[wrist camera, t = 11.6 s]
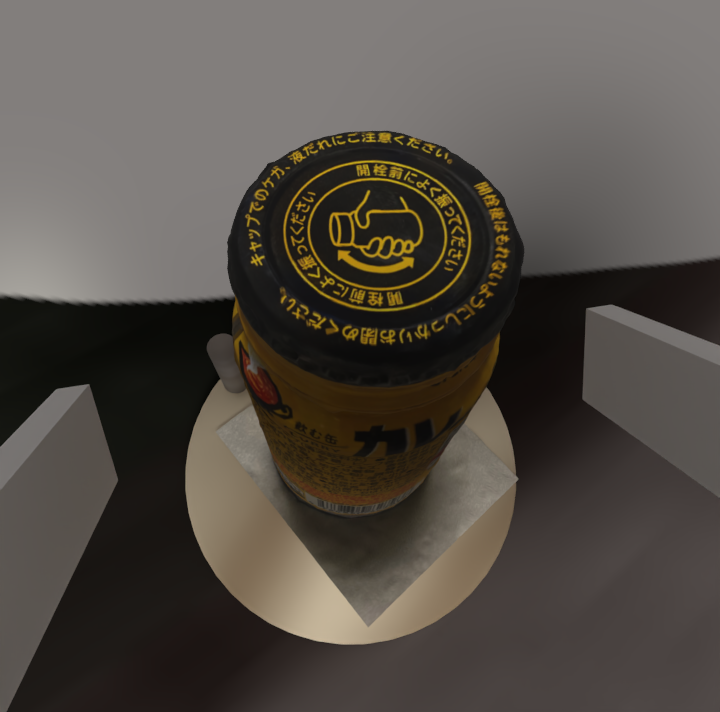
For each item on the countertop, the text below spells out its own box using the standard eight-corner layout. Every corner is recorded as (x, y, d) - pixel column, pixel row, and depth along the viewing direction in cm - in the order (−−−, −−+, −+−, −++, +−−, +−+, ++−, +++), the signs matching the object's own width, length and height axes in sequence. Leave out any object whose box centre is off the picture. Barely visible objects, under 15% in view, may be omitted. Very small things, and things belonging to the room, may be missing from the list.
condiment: (364, 323, 22) (393, 45, 11) (517, 480, 19) (746, 317, 9) (216, 433, 20) (72, 219, 9) (367, 627, 17) (423, 658, 6)
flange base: (556, 426, 22) (603, 387, 18) (403, 723, 17) (423, 756, 13) (315, 283, 24) (311, 222, 20) (124, 510, 20) (74, 486, 16)
